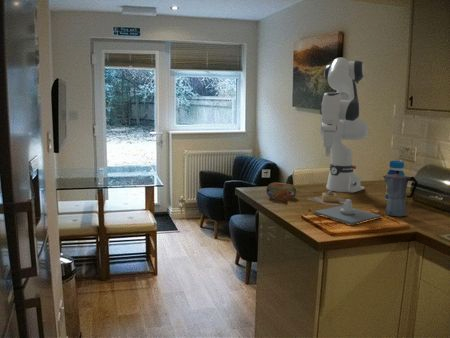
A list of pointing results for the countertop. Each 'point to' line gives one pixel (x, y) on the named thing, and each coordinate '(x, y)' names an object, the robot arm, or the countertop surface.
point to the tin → (281, 191)
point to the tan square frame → (329, 197)
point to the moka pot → (397, 193)
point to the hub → (347, 213)
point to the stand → (319, 199)
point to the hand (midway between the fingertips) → (327, 155)
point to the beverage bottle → (394, 171)
